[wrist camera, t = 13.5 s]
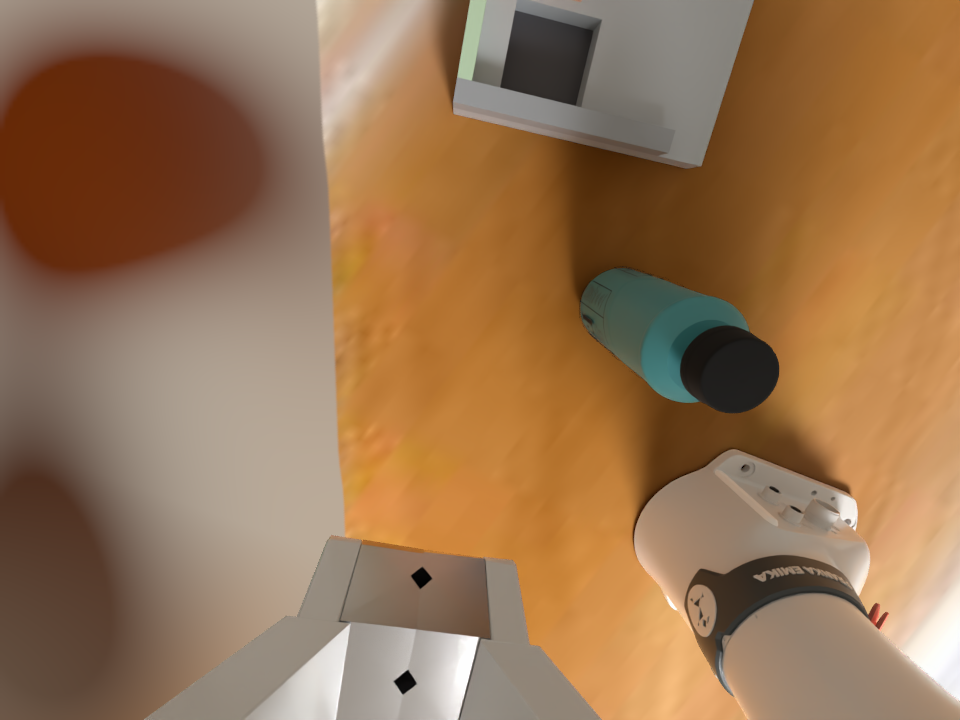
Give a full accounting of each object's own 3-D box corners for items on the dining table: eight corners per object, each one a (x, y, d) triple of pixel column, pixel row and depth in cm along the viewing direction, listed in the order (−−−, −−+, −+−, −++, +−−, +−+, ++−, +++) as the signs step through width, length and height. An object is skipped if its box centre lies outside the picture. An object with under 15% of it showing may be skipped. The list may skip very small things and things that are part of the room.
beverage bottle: (557, 303, 41) (643, 384, 22) (614, 245, 40) (756, 280, 21) (607, 352, 43) (727, 468, 24) (664, 298, 42) (838, 375, 23)
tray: (755, -53, 34) (796, -90, 30) (686, 168, 38) (714, 164, 34) (494, -129, 32) (500, -179, 28) (453, 114, 37) (452, 101, 32)
